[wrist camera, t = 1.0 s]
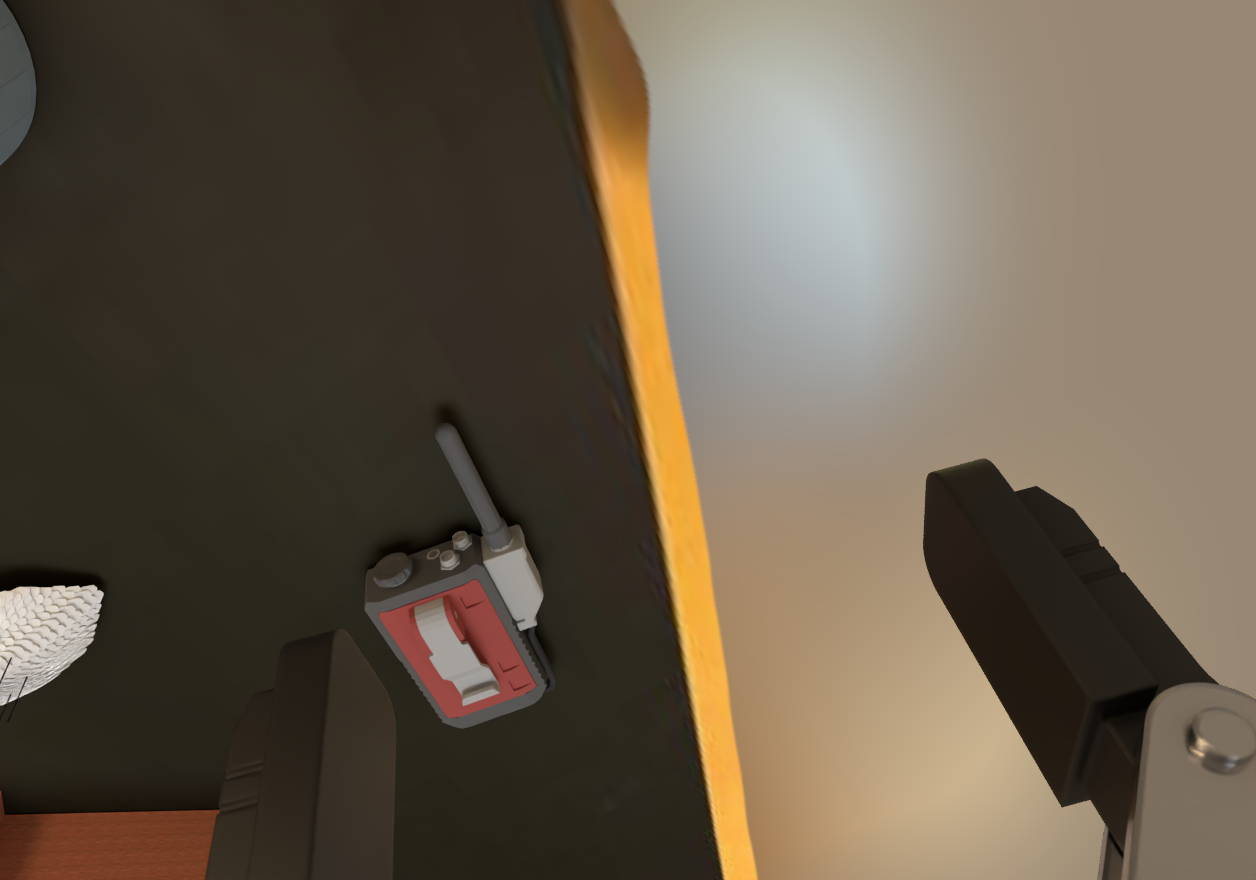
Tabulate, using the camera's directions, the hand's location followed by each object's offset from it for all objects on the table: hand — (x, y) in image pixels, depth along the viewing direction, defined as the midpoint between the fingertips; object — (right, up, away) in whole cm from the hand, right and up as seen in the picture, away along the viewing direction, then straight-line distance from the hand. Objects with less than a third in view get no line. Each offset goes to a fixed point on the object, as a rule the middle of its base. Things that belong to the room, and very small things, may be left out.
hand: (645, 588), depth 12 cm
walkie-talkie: (-10, -5, +36) cm, 38 cm away
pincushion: (-32, -7, +32) cm, 46 cm away
